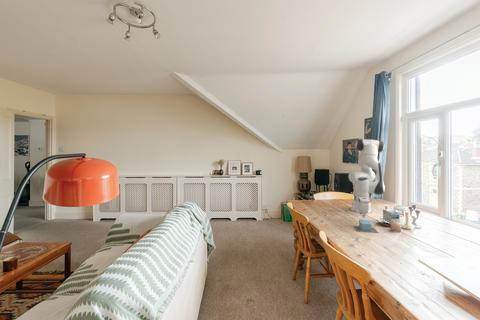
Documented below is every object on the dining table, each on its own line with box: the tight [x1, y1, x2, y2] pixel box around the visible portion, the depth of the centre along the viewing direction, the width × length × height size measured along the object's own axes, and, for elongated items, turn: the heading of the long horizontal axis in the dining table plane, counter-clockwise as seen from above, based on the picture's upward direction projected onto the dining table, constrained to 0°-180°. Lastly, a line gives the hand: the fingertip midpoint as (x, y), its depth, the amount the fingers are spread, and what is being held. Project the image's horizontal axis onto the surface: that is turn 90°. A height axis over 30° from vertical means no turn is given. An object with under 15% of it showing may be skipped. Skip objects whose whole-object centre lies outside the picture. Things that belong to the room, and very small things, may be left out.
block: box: [358, 219, 372, 231], centre depth 161 cm, size 5×6×10 cm
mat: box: [353, 225, 379, 234], centre depth 160 cm, size 11×14×1 cm
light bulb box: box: [382, 208, 401, 224], centre depth 171 cm, size 11×7×11 cm, turn 179°
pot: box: [390, 221, 402, 233], centre depth 157 cm, size 6×6×6 cm
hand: (362, 215), depth 170 cm, fingers open, 8 cm apart
